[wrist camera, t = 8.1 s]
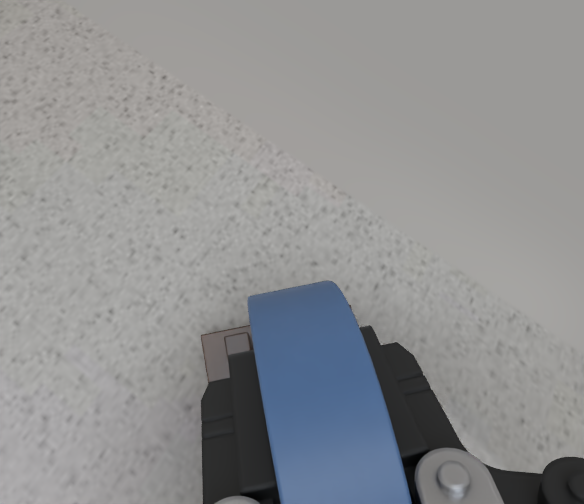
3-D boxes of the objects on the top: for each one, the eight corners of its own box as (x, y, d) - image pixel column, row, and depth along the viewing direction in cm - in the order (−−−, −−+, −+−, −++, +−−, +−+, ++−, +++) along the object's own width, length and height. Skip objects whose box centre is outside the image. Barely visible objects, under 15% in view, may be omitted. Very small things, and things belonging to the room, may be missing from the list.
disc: (315, 304, 17) (349, 241, 9) (373, 574, 15) (483, 793, 7) (254, 317, 16) (236, 262, 9) (306, 590, 15) (342, 834, 7)
